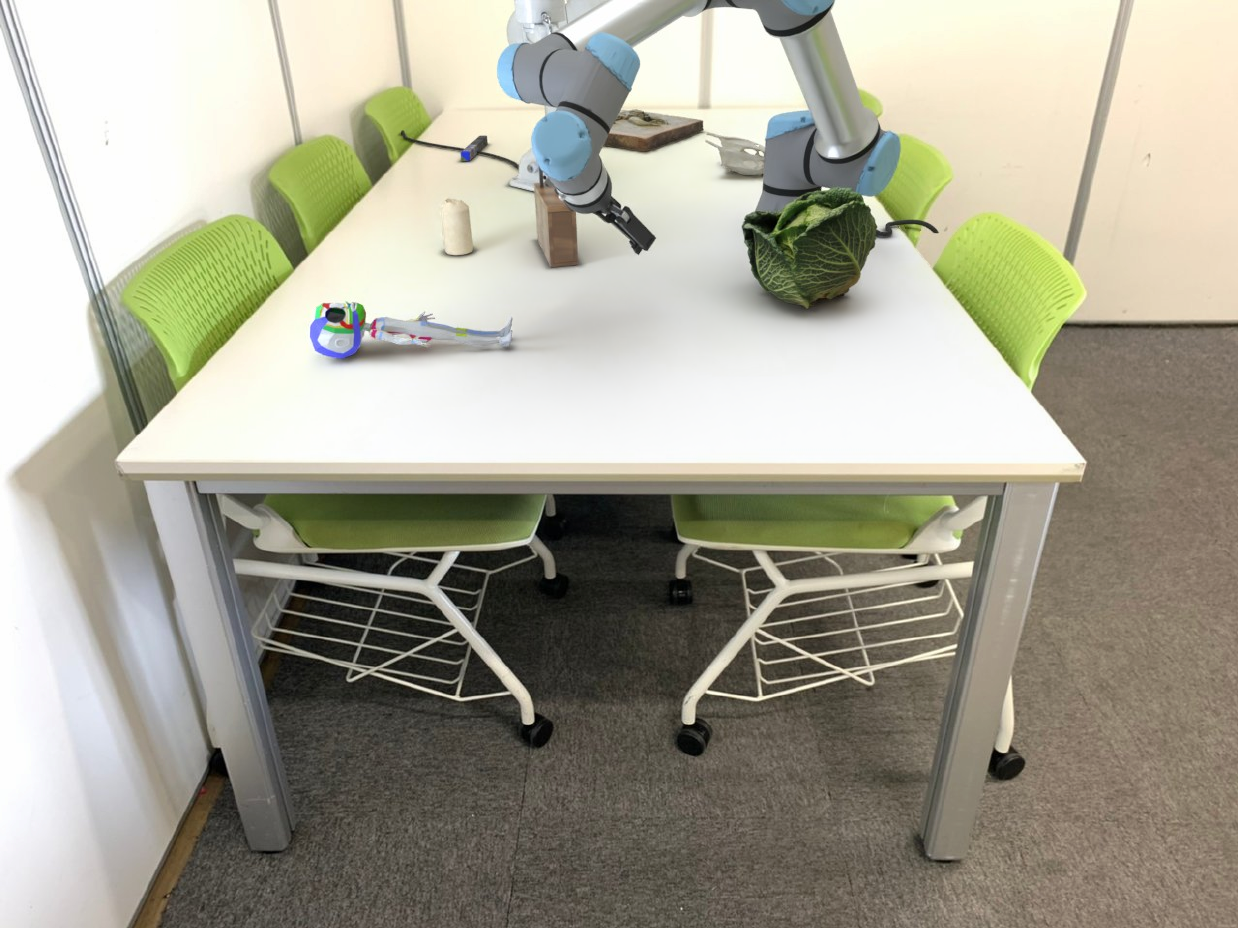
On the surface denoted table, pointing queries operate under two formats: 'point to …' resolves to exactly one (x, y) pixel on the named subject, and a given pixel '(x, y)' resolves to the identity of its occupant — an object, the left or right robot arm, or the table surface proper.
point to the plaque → (650, 130)
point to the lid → (549, 196)
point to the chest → (557, 235)
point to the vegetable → (811, 245)
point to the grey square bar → (474, 148)
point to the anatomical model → (739, 155)
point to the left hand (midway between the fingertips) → (544, 94)
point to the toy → (386, 330)
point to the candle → (456, 227)
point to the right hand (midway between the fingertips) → (608, 225)
